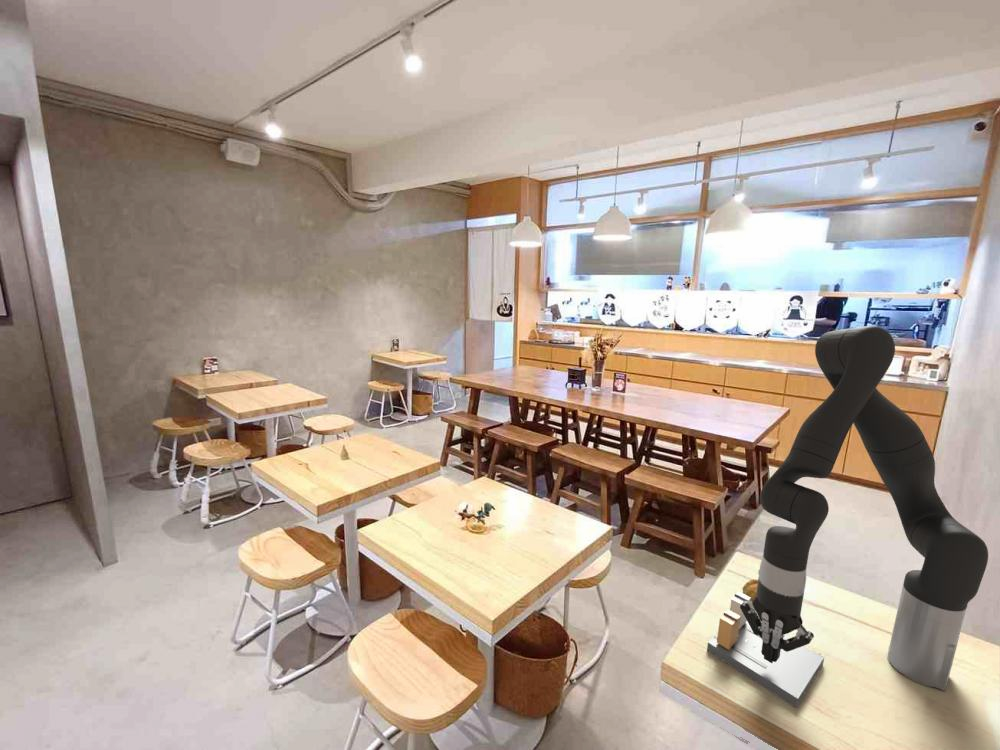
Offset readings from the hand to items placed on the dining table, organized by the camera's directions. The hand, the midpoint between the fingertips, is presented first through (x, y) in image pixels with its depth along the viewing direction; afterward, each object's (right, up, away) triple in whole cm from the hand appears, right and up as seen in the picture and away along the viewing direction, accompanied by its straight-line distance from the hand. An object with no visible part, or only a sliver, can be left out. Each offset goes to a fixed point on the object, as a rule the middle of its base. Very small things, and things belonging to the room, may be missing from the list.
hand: (769, 658), depth 89 cm
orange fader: (-5, 0, +7) cm, 8 cm away
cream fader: (0, +1, +12) cm, 12 cm away
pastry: (+12, 0, +23) cm, 26 cm away
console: (+2, -3, +6) cm, 7 cm away
